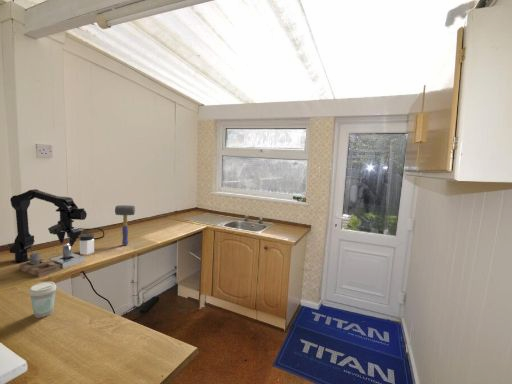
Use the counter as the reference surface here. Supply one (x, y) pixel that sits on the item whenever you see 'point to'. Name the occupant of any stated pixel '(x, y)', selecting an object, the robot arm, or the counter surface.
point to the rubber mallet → (125, 219)
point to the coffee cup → (43, 298)
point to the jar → (86, 244)
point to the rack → (38, 266)
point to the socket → (69, 262)
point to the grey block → (66, 252)
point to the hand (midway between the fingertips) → (66, 244)
